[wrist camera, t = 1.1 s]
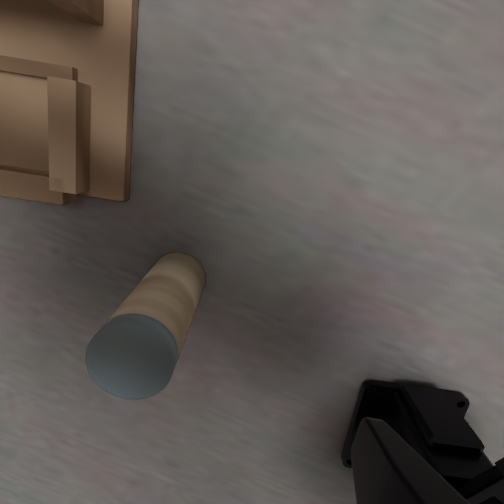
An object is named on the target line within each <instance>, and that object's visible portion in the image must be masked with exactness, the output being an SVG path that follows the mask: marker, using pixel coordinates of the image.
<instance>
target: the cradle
mask: <svg viewBox="0 0 504 504" xmlns="http://www.w3.org/2000/svg"><path fill="white" fill-rule="evenodd" d="M138 1H139V0H0V196H6V197H13V198H20V199H26V200H33V201H39V202H46V203H52V204H59V205H65V204H68V203H71V202H74V201H77V194H78V195H85V196H91V197H98V198H104V199H111V200H117V201H126V200H128V199H129V189H130V168H131V147H132V126H133V105H134V85H135V64H136V43H137V22H138Z"/></svg>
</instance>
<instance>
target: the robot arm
mask: <svg viewBox="0 0 504 504" xmlns="http://www.w3.org/2000/svg"><path fill="white" fill-rule="evenodd" d="M371 388H374V389H373V390H372V391H368V390H369V389H371ZM459 401H460V402H459ZM458 402H459V403H458ZM468 406H469V400H468V399H467V398H466V397H465V396H464V395H463V394H461V393H456V392H449V391H443V390H441V389H434V388H426V387H419V386H412V385H405V384H404V385H400V384H392V383H385V382H378V381H367V382H365V383H364V384H363V385H362V388H361V391H360V395H359V398H358V402H357V405H356V408H355V412H354V415H353V418H352V422H351V425H350V429H349V432H348V435H347V439H346V442H345V445H344V449H343V452H342V456H341V458H342V462H343V465H344V466H345V467H348V468H352V469H353V477H354V484H355V492H356V499H357V504H504V458H502V459H500V460H499V461H497V462H495V464H496V465H495V466H493V465H492V463H491V462H490V460H489V459H488V458H487V456H486V455H485V454H484V452H483V450H484V448H485V447H484V445H483V443H482V442H481V440H480V439H479V438H478V436H477V435H476V434H475V432H474V431H473V430H472V428H471V427H470V426H469V424H468V423H467V422H466V420H465V419H464V416H465V414H466V411H467V409H468ZM348 459H349V460H348Z"/></svg>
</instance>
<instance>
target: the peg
mask: <svg viewBox="0 0 504 504" xmlns="http://www.w3.org/2000/svg"><path fill="white" fill-rule="evenodd" d="M205 282H206V275H205V271H204V268H203V267H202V265H201V263H200V262H199V261H198V260H197V259H196V258H194V257H193V256H191V255H189V254H186V253H182V252H173V253H169V254H166V255H164V256H163V257H161V258H160V259H159V260H158V261H157V262H156V263H155V265H154V266H153V267H152V268H151V269H150V271H149V272H148V273H147V274H146V275H145V277H144V278H143V279H142V280H141V281H140V282H139V284H138V285H137V286H136V287H135V288H134V290H133V291H132V292H131V293H130V294H129V296H128V297H127V298H126V299H125V300H124V301H123V303H122V304H121V305H120V306H119V307H118V309H117V310H116V311H115V312H114V313H113V315H112V316H111V317H110V318H109V319H108V320H107V322H106V323H105V324H104V325H103V326H102V328H101V329H100V330H99V331H98V332H97V334H96V335H95V336H94V337H93V338H92V340H91V341H90V343H89V345H88V347H87V351H86V365H87V369H88V371H89V373H90V375H91V377H92V378H93V380H94V381H95V382H96V383H97V384H98V385H99V386H100V387H101V388H102V389H104V390H105V391H106V392H108V393H110V394H112V395H114V396H117V397H120V398H124V399H132V400H135V399H144V398H148V397H151V396H153V395H155V394H157V393H159V392H160V391H161V390H163V389H164V388H165V386H166V385H167V384H168V382H169V380H170V379H171V376H172V373H173V370H174V368H175V365H176V362H177V360H178V357H179V354H180V351H181V349H182V346H183V343H184V341H185V338H186V335H187V332H188V330H189V327H190V324H191V322H192V319H193V316H194V313H195V311H196V308H197V305H198V303H199V300H200V297H201V294H202V292H203V289H204V286H205Z"/></svg>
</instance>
